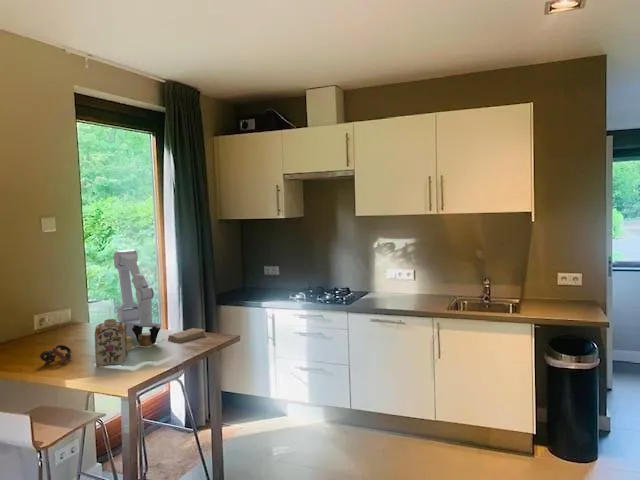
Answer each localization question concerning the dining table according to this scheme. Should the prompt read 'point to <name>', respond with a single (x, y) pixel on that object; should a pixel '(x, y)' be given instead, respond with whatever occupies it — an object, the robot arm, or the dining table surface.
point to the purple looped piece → (56, 354)
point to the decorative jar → (110, 342)
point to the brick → (186, 335)
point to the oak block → (129, 342)
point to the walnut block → (145, 339)
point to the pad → (159, 339)
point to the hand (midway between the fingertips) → (146, 342)
